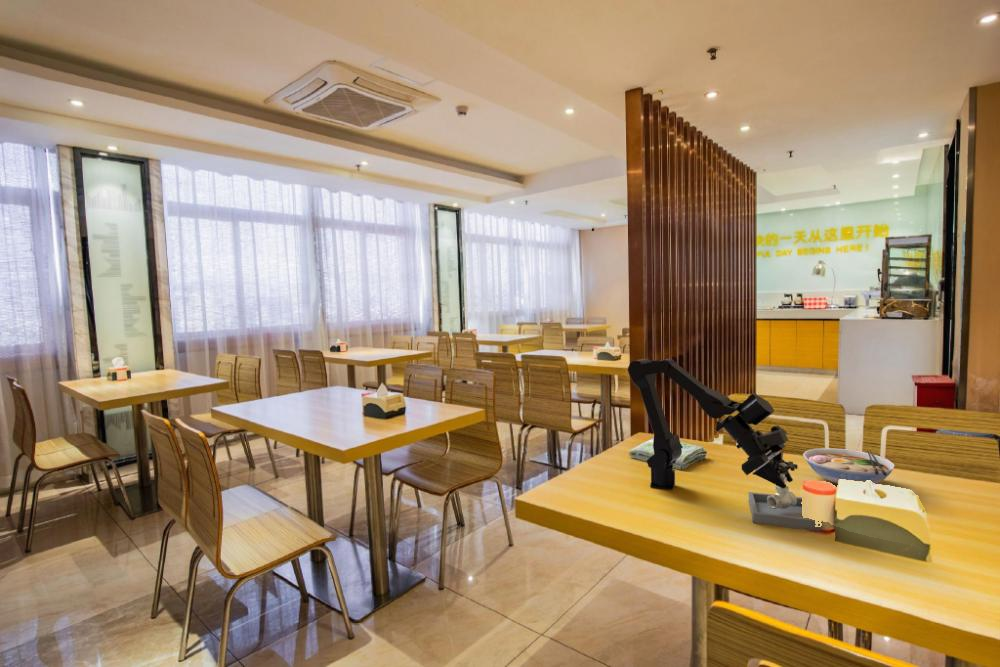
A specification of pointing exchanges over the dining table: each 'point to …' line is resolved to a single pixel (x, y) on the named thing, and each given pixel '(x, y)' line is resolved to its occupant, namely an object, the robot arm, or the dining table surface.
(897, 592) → the dining table surface
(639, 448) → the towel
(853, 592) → the dining table surface
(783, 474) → the valve
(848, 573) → the dining table surface
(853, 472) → the ramen bowl
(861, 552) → the dining table surface
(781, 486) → the robot arm
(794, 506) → the parts tray
